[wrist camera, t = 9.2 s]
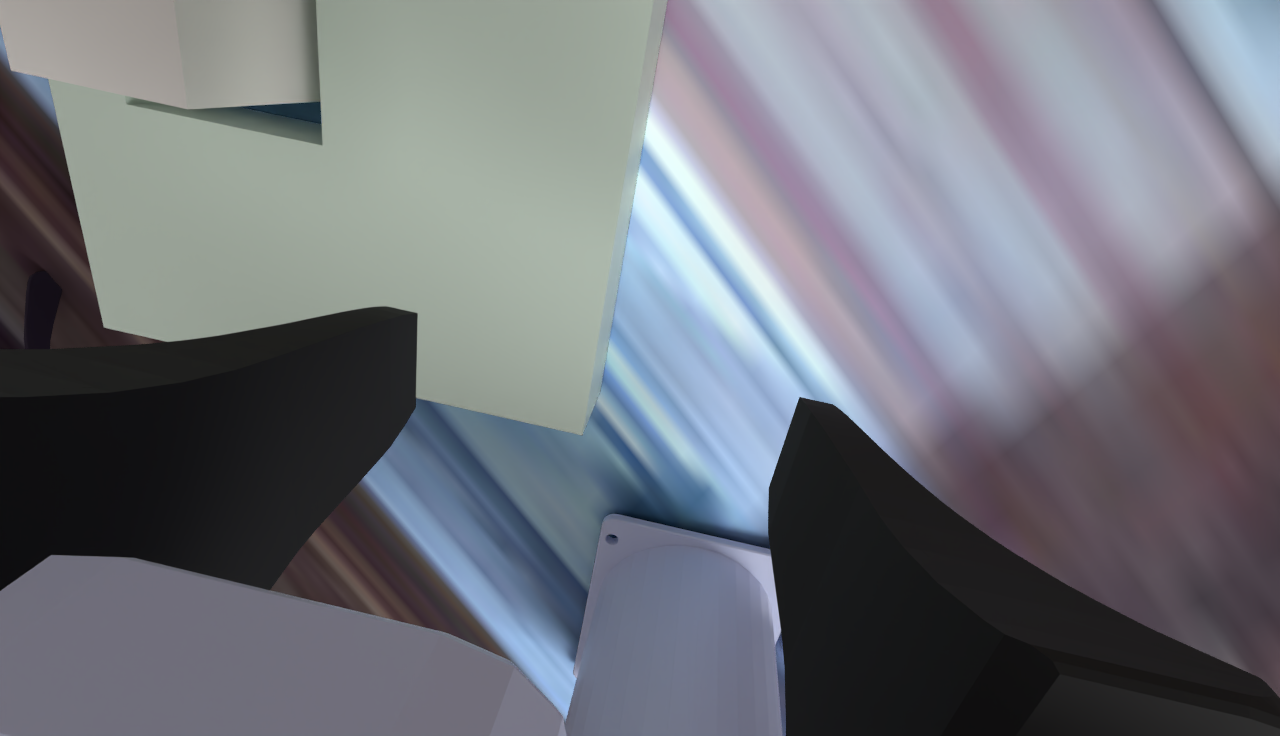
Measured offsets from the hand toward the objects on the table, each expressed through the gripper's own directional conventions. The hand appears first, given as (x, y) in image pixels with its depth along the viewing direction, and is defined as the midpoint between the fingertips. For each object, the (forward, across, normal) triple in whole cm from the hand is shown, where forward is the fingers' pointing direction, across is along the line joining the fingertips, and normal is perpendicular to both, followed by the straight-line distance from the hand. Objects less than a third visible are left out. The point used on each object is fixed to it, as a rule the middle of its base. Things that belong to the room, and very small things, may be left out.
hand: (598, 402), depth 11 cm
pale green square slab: (+9, +9, -3) cm, 13 cm away
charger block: (+10, +12, -5) cm, 16 cm away
